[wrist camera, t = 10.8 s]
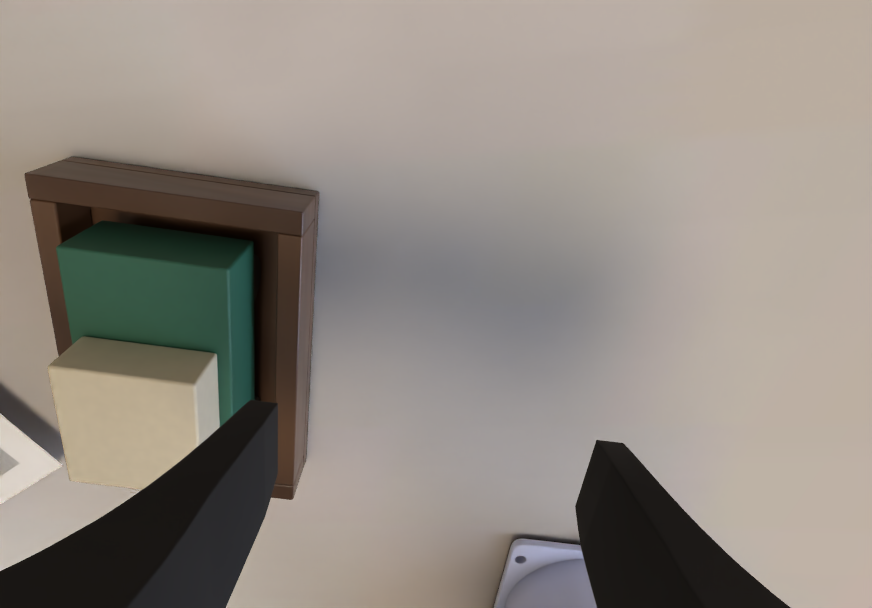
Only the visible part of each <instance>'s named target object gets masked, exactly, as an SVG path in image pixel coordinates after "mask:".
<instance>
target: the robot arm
mask: <svg viewBox="0 0 872 608" xmlns="http://www.w3.org/2000/svg"><path fill="white" fill-rule="evenodd" d="M277 474H278V403H272V402H263V401H255V400H250V401H249V402H247V403H246V404H245V405H244V406H242V407H241V408H240V409H239V410H238V411H237V412H236V413H235V414H234V415H233V416H231V417H230V418H229V419H228V420H227V421H226V422H225V423H224V424H223V425H222V426H221V427H219V428H218V429H217V430H216V431H215V432H214V433H213V434H212V435H210V436H209V437H208V438H207V439H206V440H205V441H203V442H202V443H201V444H200V445H199V446H198V447H196V448H195V449H194V450H193V451H192V452H190V453H189V454H188V455H187V456H186V457H184V458H183V459H182V460H181V461H180V462H178V463H177V464H176V465H174V466H173V467H172V468H171V469H169V470H168V471H167V472H165V473H164V474H163V475H161V476H160V477H159V478H157V479H156V480H155V481H154V482H152V483H151V484H150V485H148V486H147V487H146V488H144V489H143V490H141V491H140V492H139V493H137V494H136V495H134V496H133V497H131V498H130V499H128V500H127V501H126V502H124V503H123V504H121V505H120V506H118V507H116V508H115V509H113V510H112V511H110V512H109V513H107V514H106V515H104V516H103V517H101V518H99V519H98V520H96V521H94V522H93V523H91V524H89V525H87V526H85V527H84V528H82V529H80V530H78V531H77V532H75V533H73V534H71V535H69V536H68V537H66V538H64V539H62V540H61V541H59V542H57V543H55V544H54V545H52V546H50V547H48V548H46V549H44V550H42V551H40V552H38V553H37V554H35V555H33V556H31V557H29V558H27V559H25V560H23V561H21V562H19V563H17V564H15V565H12V566H10V567H8V568H6V569H4V570H2V571H0V608H226V605H227V603H228V601H229V599H230V596H231V594H232V592H233V589H234V587H235V585H236V582H237V580H238V578H239V576H240V573H241V571H242V569H243V566H244V564H245V562H246V559H247V557H248V555H249V553H250V550H251V548H252V546H253V543H254V541H255V539H256V536H257V534H258V532H259V529H260V527H261V524H262V522H263V520H264V517H265V515H266V511H267V508H268V505H269V502H270V498H271V495H272V492H273V488H274V485H275V481H276V478H277ZM575 507H576V515H577V523H578V531H579V537H580V544H581V545H575V544H566V543H558V542H549V541H541V540H532V539H517V540H515V541H514V542H513V543H512V545H511V548H510V551H509V555H508V558H507V562H506V565H505V569H504V572H503V576H502V580H501V583H500V587H499V590H498V594H497V597H496V601H495V604H494V608H790V607H789V606H788V605H786V604H785V603H784V602H783V601H781V600H780V599H779V598H778V597H776V596H775V595H774V594H773V593H771V592H770V591H769V590H768V589H767V588H766V587H764V586H763V585H762V584H761V583H760V582H759V581H757V580H756V579H755V578H754V577H753V576H752V575H750V574H749V573H748V572H747V571H746V570H745V569H743V568H742V567H741V566H740V565H739V564H738V563H737V562H736V561H735V560H733V559H732V558H731V557H730V556H729V555H728V554H727V553H726V552H725V551H724V550H723V549H722V548H721V547H720V546H719V545H718V544H717V543H716V542H715V541H714V540H713V539H712V538H711V537H710V536H708V535H707V534H706V533H705V532H704V531H703V530H702V529H701V528H700V527H699V526H698V524H697V523H696V522H695V521H694V520H693V519H692V518H691V517H690V516H689V515H688V514H687V513H686V512H685V511H684V510H683V509H682V508H681V507H680V506H679V505H678V503H677V502H676V501H675V500H674V499H673V498H672V497H671V496H670V495H669V494H668V492H667V491H666V490H665V489H664V488H663V487H662V486H661V485H660V484H659V482H658V481H657V480H656V479H655V478H654V477H653V476H652V475H651V473H650V472H649V471H648V470H647V469H646V468H645V467H644V465H643V464H642V463H641V462H640V461H639V460H638V459H637V458H636V456H635V455H634V454H633V453H632V452H631V451H630V450H629V449H628V448H627V447H626V446H625V445H624V444H623V443H618V442H609V441H600V440H597V441H596V444H595V447H594V450H593V453H592V456H591V459H590V462H589V466H588V469H587V472H586V475H585V478H584V481H583V484H582V487H581V490H580V494H579V497H578V500H577V503H576V506H575Z"/></svg>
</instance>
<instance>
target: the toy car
mask: <svg viewBox="0 0 872 608" xmlns="http://www.w3.org/2000/svg"><path fill="white" fill-rule="evenodd" d="M56 252H57V258H58V264H59V269H60V275H61V281H62V287H63V293H64V299H65V305H66V310H67V316H68V322H69V328H70V334H71V340H72V346H71V347H69V348H68V349H67V350H66V351H65V352H64V353H62V354H61V355H60V356H59V357H58V358H57V359H55V360H54V361H53V362H52V363H51V364H50V365H49V366H48V374H49V379H50V384H51V389H52V394H53V399H54V404H55V409H56V414H57V419H58V424H59V429H60V435H61V440H62V445H63V450H64V455H65V460H66V465H67V470H68V475H69V480H70V481H73V482H81V483H90V484H98V485H107V486H115V487H124V488H132V489H141V490H143V489H144V488H146V487H147V486H148V485H150V484H151V483H152V482H154V481H155V480H156V479H157V478H159V477H160V476H161V475H163V474H164V473H165V472H167V471H168V470H169V469H171V468H172V467H173V466H174V465H176V464H177V463H178V462H180V461H181V460H182V459H183V458H184V457H186V456H187V455H188V454H189V453H190V452H192V451H193V450H194V449H195V448H196V447H198V446H199V445H200V444H201V443H202V442H203V441H205V440H206V439H207V438H208V437H209V436H210V435H212V434H213V433H214V432H215V431H216V430H217V429H218V428H219V427H221V426H222V425H223V424H224V423H225V422H226V421H227V420H228V419H229V418H230V417H231V416H233V415H234V414H235V413H236V412H237V411H238V410H239V409H240V408H241V407H242V406H244V405H245V404H246V403H247V402H249V401H250V400H255V401H260V399H259V397H257V396H255V336H254V301H255V299H256V297H257V294H258V290H259V285H260V277H261V266H260V260H259V258H258V256H257V255H255V254H254V242H253V241H250V240H243V239H235V238H228V237H221V236H214V235H206V234H199V233H192V232H185V231H177V230H170V229H163V228H155V227H148V226H141V225H134V224H126V223H119V222H112V221H105V220H102V221H100V222H98V223H96V224H94V225H93V226H91V227H89V228H87V229H86V230H84V231H82V232H81V233H79V234H77V235H75V236H74V237H72V238H70V239H68V240H67V241H65V242H63V243H61V244H60V245H58V246H57V247H56Z"/></svg>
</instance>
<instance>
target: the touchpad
mask: <svg viewBox="0 0 872 608" xmlns="http://www.w3.org/2000/svg"><path fill="white" fill-rule="evenodd" d="M61 466H63V465H62V464H61V463H60V462H59V461H58V460H56V459H55V458H54V457H53V456H52V455H50V454H49V453H48V452H47V451H45V450H44V449H43V448H42V447H41V446H39V445H38V444H37V443H36V442H34V441H33V440H32V439H31V438H30V437H28V436H27V435H26V434H25V433H24V432H22V431H21V430H20V429H19V428H17V427H16V426H15V425H14V424H13V423H11V422H10V421H9V420H8V419H7V418H5V417H4V416H3V415H2V414H0V504H2V503H3V502H5V501H7V500H8V499H10V498H11V497H13V496H15V495H16V494H18V493H19V492H21V491H23V490H24V489H26V488H28V487H29V486H31V485H32V484H34V483H36V482H37V481H39V480H40V479H42V478H44V477H45V476H47V475H48V474H50V473H52V472H53V471H55V470H57V469H58V468H60V467H61Z"/></svg>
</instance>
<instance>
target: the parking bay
mask: <svg viewBox="0 0 872 608" xmlns="http://www.w3.org/2000/svg"><path fill="white" fill-rule="evenodd" d="M25 180H26V186H27V191H28V196H29V198H30V204H31V210H32V215H33V221H34V226H35V231H36V237H37V242H38V248H39V253H40V258H41V264H42V269H43V274H44V280H45V285H46V291H47V296H48V301H49V307H50V312H51V318H52V323H53V328H54V334H55V339H56V345H57V350H58V355H59V356H60V355H61V354H62V353H64V352H65V351H66V350H67V349H68V348H69V347H71V346H72V340H71V334H70V328H69V322H68V316H67V310H66V305H65V299H64V293H63V287H62V281H61V275H60V269H59V264H58V258H57V252H56V247H57V246H58V245H60V244H61V243H63V242H65V241H67V240H68V239H70V238H72V237H74V236H75V235H77V234H79V233H81V232H82V231H84V230H86V229H87V228H89V227H91V226H93V225H94V224H96V223H98V222H100V221H102V220H105V221H112V222H119V223H126V224H134V225H141V226H148V227H155V228H163V229H170V230H177V231H185V232H192V233H199V234H206V235H214V236H221V237H228V238H235V239H243V240H250V241H253V242H254V254H255V255H257V256H258V258H259V260H260V266H261V277H260V285H259V290H258V294H257V297H256V299H255V301H254V336H255V396H257V397H259V399H260V401H263V402H272V403H278V474H277V478H276V481H275V485H274V488H273V492H272V495H271V497H272V498H280V499H289V500H292V499H293V498H294V495H295V492H296V489H297V485H298V482H299V479H300V476H301V473H302V470H303V468H304V465H305V462H306V452H307V431H308V411H309V390H310V369H311V349H312V328H313V307H314V287H315V266H316V245H317V225H318V204H319V192H317V191H310V190H303V189H296V188H289V187H282V186H275V185H268V184H261V183H254V182H247V181H240V180H233V179H226V178H219V177H212V176H205V175H198V174H191V173H184V172H177V171H169V170H162V169H155V168H148V167H141V166H134V165H127V164H120V163H113V162H106V161H99V160H92V159H85V158H78V157H69V158H66V159H63V160H61V161H58V162H55V163H52V164H49V165H47V166H44V167H41V168H38V169H35V170H33V171H30V172H27V173H25Z"/></svg>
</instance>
